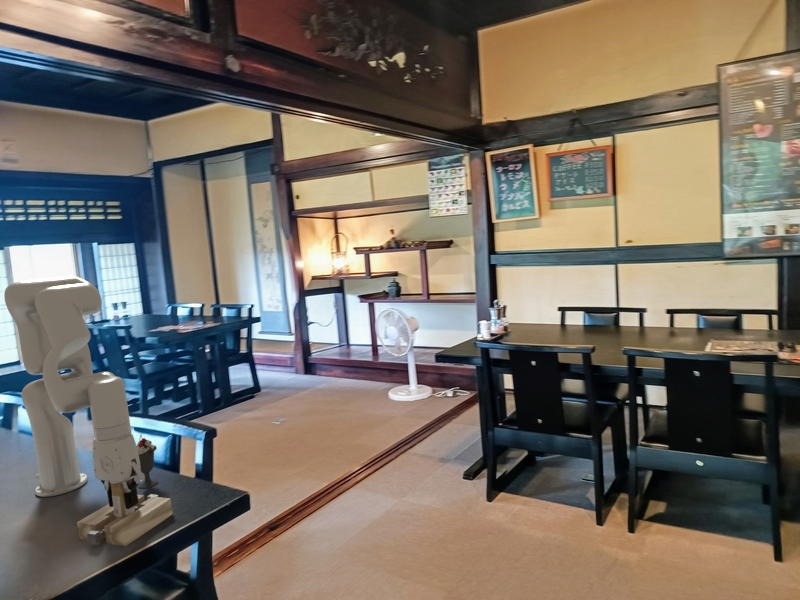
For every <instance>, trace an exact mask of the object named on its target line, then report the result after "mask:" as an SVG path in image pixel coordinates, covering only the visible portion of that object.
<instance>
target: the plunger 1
mask: <svg viewBox="0 0 800 600" xmlns="http://www.w3.org/2000/svg"><path fill="white" fill-rule="evenodd" d="M111 522H112V521H111ZM104 533H105V529H103V530H102V531H93V530H91V531H90V532H88V533H87V537H88V540H87V543H88V544H90V545H98V544H100V543H101V542H102V539H101V538H100V535H102V534H104Z"/></svg>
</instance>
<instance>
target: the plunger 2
mask: <svg viewBox="0 0 800 600" xmlns="http://www.w3.org/2000/svg"><path fill="white" fill-rule="evenodd" d="M146 497H147V500H148V499H149V498H151V497H159V494H153V493H150V494H149V495H147V496H146ZM140 508H141V506H140V507H139V506H136V507H135V511H137V510H138V509H140Z"/></svg>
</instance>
